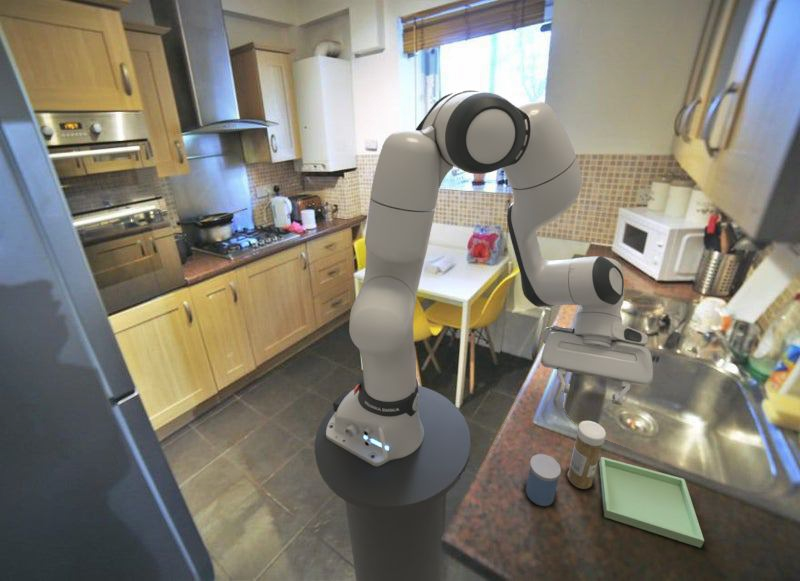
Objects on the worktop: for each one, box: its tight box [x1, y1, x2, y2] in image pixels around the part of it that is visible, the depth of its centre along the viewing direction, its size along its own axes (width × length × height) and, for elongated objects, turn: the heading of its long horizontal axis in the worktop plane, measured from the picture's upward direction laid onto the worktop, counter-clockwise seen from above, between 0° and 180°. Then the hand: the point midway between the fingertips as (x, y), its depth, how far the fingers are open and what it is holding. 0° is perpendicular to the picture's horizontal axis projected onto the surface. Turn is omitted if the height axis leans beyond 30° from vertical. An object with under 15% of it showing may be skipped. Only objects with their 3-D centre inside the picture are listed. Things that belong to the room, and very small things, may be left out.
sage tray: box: [598, 456, 705, 549], centre depth 67 cm, size 14×12×2 cm
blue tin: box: [525, 453, 562, 507], centre depth 68 cm, size 5×5×8 cm
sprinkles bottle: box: [567, 420, 607, 490], centre depth 69 cm, size 5×5×14 cm
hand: (590, 398), depth 73 cm, fingers open, 8 cm apart
